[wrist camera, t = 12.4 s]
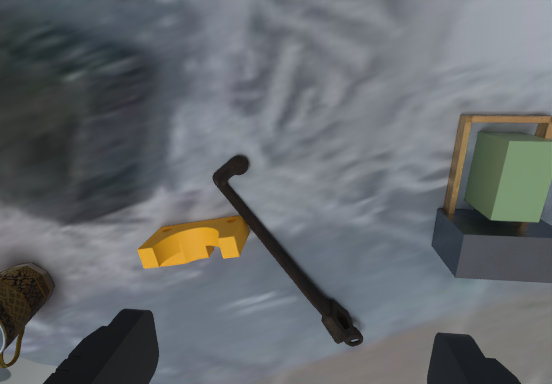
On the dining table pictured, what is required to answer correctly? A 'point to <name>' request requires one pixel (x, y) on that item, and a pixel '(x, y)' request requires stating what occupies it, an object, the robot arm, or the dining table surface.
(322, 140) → the dining table surface
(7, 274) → the ceramic cup
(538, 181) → the sage green upright block
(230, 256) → the pipe clamp
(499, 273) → the grey block with frame
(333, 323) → the wrench
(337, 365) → the dining table surface
